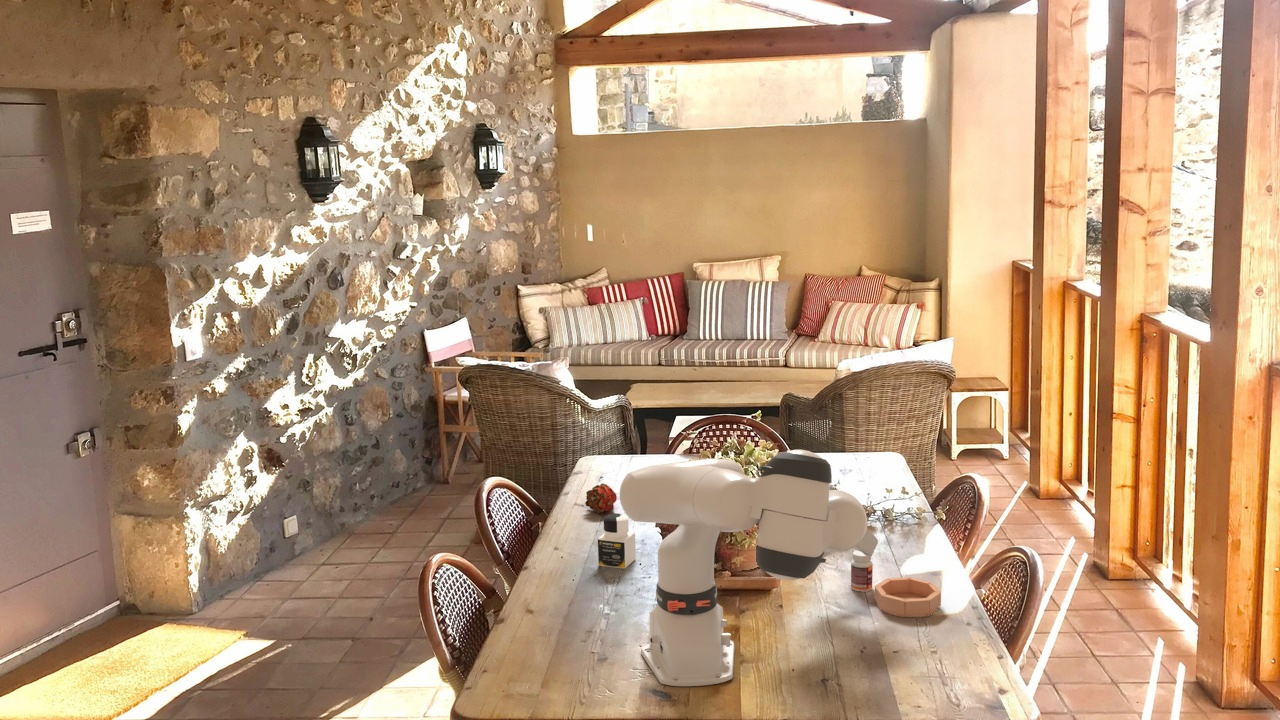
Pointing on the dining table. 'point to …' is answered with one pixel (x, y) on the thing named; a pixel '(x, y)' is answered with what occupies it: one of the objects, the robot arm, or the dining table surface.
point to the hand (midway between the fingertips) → (854, 547)
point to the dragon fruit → (601, 498)
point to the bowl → (907, 597)
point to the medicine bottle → (616, 543)
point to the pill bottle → (861, 572)
